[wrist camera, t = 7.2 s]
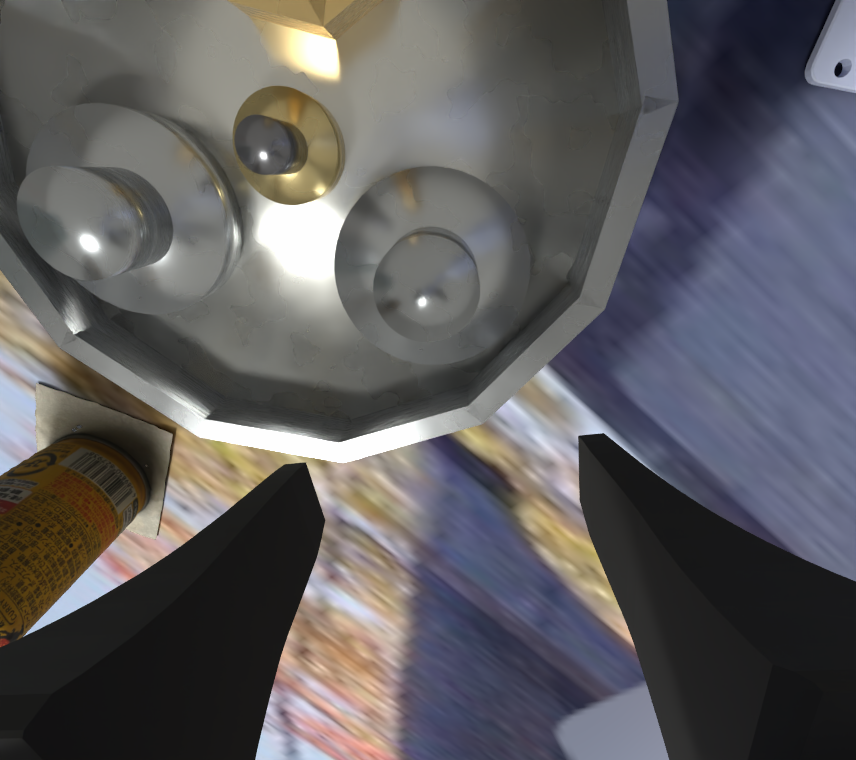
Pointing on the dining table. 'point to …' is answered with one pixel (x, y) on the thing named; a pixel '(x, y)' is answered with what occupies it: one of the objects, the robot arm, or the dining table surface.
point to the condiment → (73, 501)
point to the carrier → (325, 202)
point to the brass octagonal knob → (309, 14)
